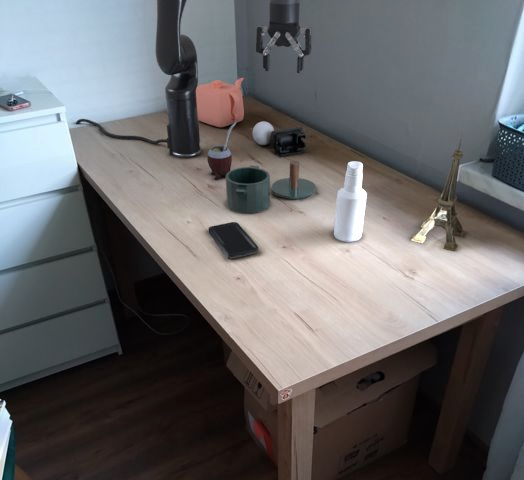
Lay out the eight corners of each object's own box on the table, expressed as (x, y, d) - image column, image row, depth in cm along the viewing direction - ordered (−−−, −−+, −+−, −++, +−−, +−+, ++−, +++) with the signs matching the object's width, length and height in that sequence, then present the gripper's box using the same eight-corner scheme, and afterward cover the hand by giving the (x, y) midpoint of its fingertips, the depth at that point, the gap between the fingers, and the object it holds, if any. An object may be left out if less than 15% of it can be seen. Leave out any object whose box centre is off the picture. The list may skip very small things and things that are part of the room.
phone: (236, 221, 138) (259, 248, 128) (236, 225, 139) (259, 252, 129) (206, 227, 136) (228, 255, 126) (207, 231, 137) (228, 260, 126)
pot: (219, 216, 143) (218, 187, 138) (235, 189, 156) (234, 161, 150) (262, 220, 141) (262, 190, 136) (274, 192, 154) (275, 164, 149)
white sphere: (279, 145, 181) (279, 122, 177) (260, 150, 178) (260, 127, 173) (262, 136, 188) (262, 114, 183) (244, 141, 185) (243, 118, 180)
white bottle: (363, 231, 137) (373, 160, 125) (358, 244, 132) (367, 171, 120) (337, 227, 138) (343, 156, 127) (330, 239, 134) (336, 167, 122)
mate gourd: (204, 178, 162) (200, 126, 152) (217, 168, 167) (214, 117, 157) (226, 182, 159) (224, 130, 149) (239, 172, 165) (237, 121, 155)
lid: (267, 198, 151) (267, 169, 146) (276, 180, 160) (276, 152, 155) (312, 202, 149) (314, 173, 144) (318, 183, 158) (320, 155, 153)
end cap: (297, 145, 182) (298, 124, 177) (307, 152, 177) (308, 131, 172) (269, 149, 179) (270, 128, 174) (278, 157, 174) (279, 135, 169)
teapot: (263, 119, 202) (263, 78, 193) (225, 132, 191) (223, 90, 182) (226, 107, 212) (224, 68, 203) (187, 119, 201) (184, 79, 192)
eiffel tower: (454, 251, 129) (482, 145, 113) (411, 240, 133) (431, 136, 117) (465, 232, 136) (492, 129, 120) (424, 222, 140) (444, 121, 124)
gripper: (253, 1, 134) (254, 73, 144) (311, 3, 131) (307, 76, 142) (259, -4, 139) (260, 66, 150) (315, -2, 137) (311, 69, 148)
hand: (283, 71), depth 146 cm, fingers open, 8 cm apart
